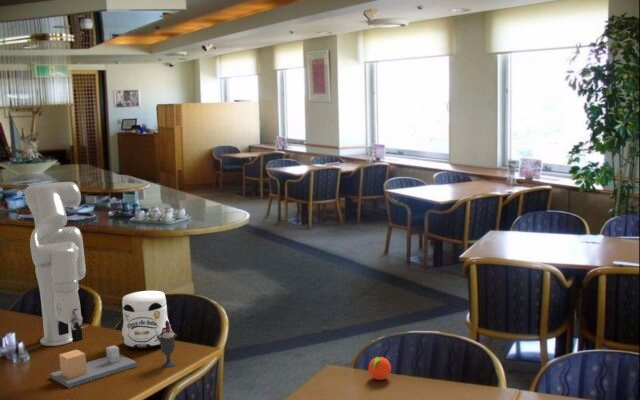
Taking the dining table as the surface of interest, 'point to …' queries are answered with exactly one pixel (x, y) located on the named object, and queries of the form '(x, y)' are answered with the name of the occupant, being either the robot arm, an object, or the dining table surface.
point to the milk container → (144, 318)
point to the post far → (113, 354)
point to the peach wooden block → (73, 364)
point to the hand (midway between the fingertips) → (70, 337)
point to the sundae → (167, 344)
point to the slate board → (95, 371)
